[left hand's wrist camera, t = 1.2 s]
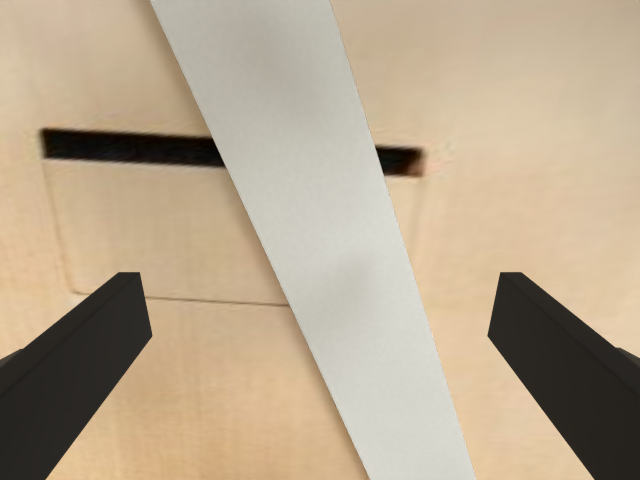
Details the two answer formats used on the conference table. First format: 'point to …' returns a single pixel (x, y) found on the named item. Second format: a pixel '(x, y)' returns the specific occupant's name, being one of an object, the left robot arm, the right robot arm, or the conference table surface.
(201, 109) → the wide beam
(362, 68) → the conference table surface
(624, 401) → the left robot arm
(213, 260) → the conference table surface
